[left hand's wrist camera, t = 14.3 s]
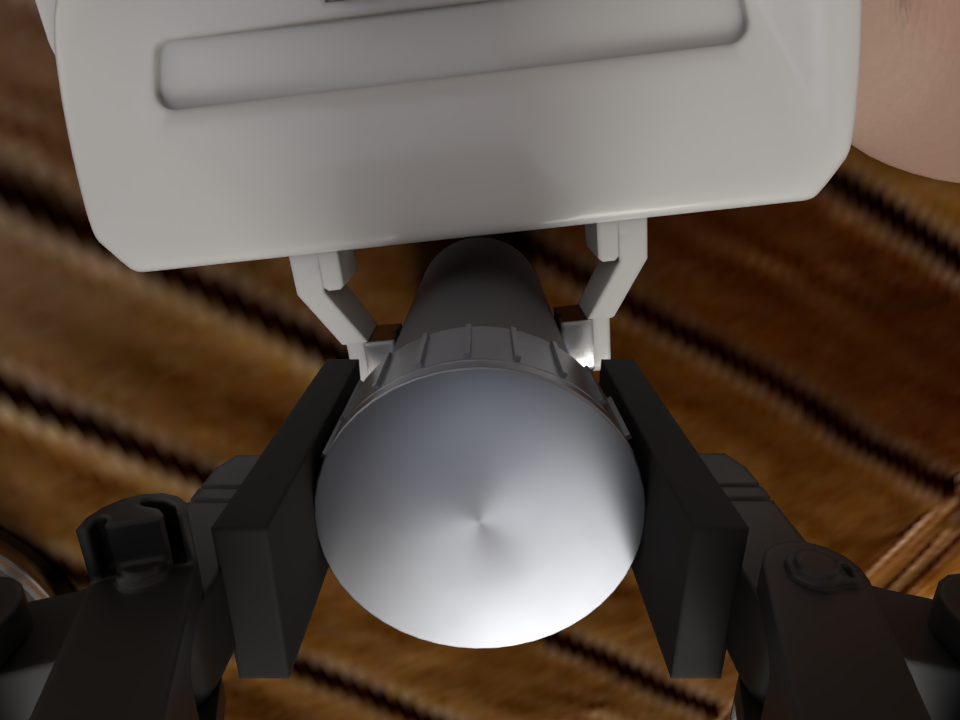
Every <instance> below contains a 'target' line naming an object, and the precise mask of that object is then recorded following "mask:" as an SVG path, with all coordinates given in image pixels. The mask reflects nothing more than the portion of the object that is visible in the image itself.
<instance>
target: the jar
mask: <svg viewBox="0 0 960 720" xmlns="http://www.w3.org/2000/svg"><path fill="white" fill-rule="evenodd" d="M466 324H472V326H489V327H501V328H507V329H510V327H511V326H512V327H516V330H517V331H521V332H524V333H527V334H530V335H533V336H536V337H539V338H541V339H543V340H545V341H547V342H549V343H551V342H552V341H554V342H556V343H557V345H558V347H559V348H560V349H562V350H563V351H565V352H566V353H568V351H567V349H566V346H565V344H564V341H563V339H562V336H561V334H560V332H559V329H558V327H557V324H556V322H555V319H554V317H553V314H552V312H551V310H550V307H549V305H548V302H547V300H546V297H545V295H544V293H543V290H542V288H541V285H540V283H539V280H538V278H537V275H536V273H535V271H534V269H533V267H532V266H531V264H530V262H529V261H528V260H527V259H526V257H525V256H524V255H523V254H522V253H521V252H519V251H518V250H517V249H515V248H514V247H513V246H511V245H509V244H507V243H505V242H502V241H500V240H497V239H492V238H485V237H475V238H468V239H464V240H461V241H458V242H456V243H453V244H451V245H449V246H448V247H446V248H445V249H443V250H442V251H441V252H440V253H439V254H438V255H437V256H436V257H435V258H434V259H433V260H432V262H431V263H430V265H429V266H428V268H427V270H426V272H425V274H424V276H423V279H422V281H421V284H420V286H419V288H418V291H417V293H416V296H415V298H414V300H413V303H412V305H411V308H410V310H409V313H408V315H407V317H406V320H405V322H404V325H403V327H402V330H401V332H400V334H399V337H398V339H397V342H396V344H395V346H394V349H393V351H392V353H394V352H395V351H397V350H399V349H400V348H402V347H403V346H405V345H407V344H408V343H411V342H413V341H415V340H417V339H419V338H422V336H423V334H424V333H426V332H428V333H429V335H430V334H433V333H436V332H440V331H443V330H448V329H454V328H460V327H466Z"/></svg>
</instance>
